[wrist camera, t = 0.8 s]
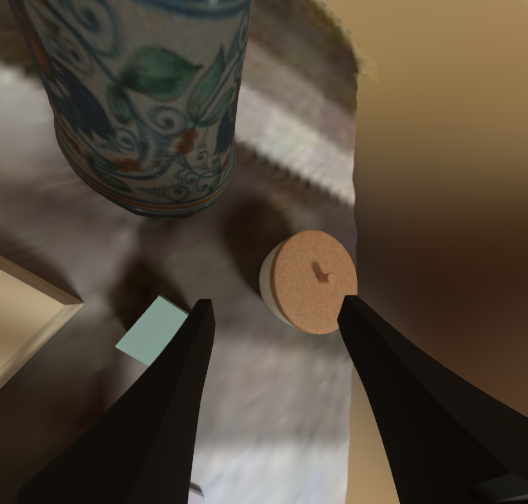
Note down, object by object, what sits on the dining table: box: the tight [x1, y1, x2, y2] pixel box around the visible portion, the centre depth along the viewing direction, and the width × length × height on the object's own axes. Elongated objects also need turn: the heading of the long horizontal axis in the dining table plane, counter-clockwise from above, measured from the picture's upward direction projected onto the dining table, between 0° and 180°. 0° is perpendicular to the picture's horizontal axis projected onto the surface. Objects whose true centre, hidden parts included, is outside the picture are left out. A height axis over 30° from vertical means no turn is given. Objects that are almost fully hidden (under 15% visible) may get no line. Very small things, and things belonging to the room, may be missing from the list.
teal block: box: [115, 296, 189, 366], centre depth 18 cm, size 4×4×5 cm
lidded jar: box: [259, 230, 357, 334], centre depth 23 cm, size 11×11×9 cm
